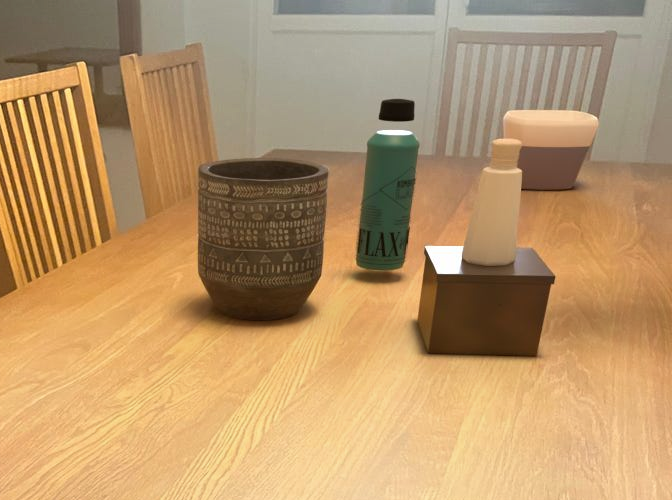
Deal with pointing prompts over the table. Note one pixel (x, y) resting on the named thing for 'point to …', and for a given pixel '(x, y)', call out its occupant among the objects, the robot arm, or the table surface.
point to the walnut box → (483, 303)
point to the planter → (261, 234)
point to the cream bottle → (496, 209)
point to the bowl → (550, 145)
